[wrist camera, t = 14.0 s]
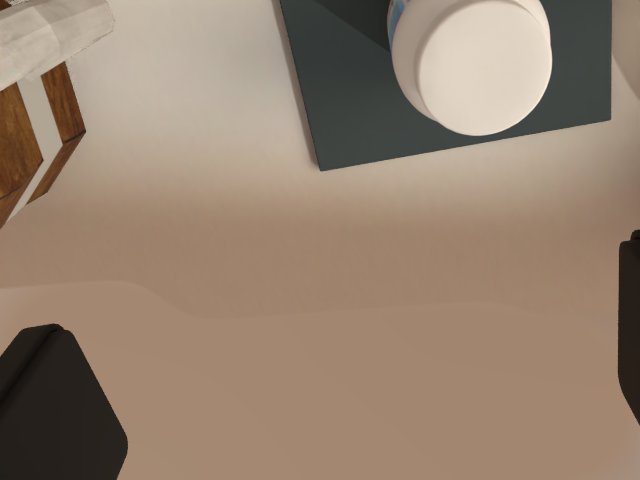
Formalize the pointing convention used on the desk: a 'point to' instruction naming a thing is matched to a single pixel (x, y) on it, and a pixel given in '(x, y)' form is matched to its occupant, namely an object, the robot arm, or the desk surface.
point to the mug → (41, 92)
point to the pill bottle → (471, 60)
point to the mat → (392, 105)
